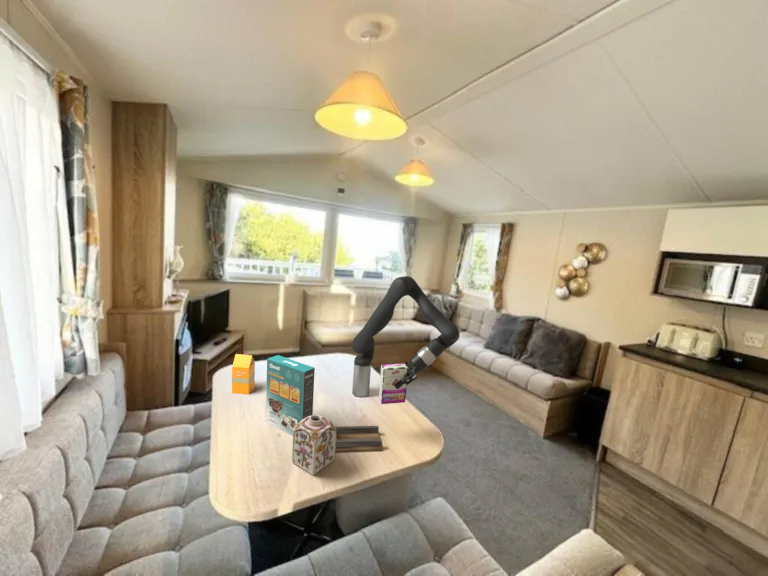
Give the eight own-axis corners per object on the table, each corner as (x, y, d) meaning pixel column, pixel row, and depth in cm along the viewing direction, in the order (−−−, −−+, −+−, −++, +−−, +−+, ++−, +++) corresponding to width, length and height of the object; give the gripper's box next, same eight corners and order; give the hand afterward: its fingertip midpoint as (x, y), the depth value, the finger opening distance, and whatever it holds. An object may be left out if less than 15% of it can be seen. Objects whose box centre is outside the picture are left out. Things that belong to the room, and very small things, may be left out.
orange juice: (248, 394, 175) (249, 357, 172) (231, 393, 175) (231, 356, 172) (254, 387, 183) (255, 352, 180) (238, 386, 183) (238, 351, 180)
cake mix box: (311, 433, 146) (314, 367, 141) (301, 440, 140) (304, 372, 136) (276, 416, 156) (278, 355, 152) (265, 422, 151) (267, 358, 147)
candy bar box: (401, 397, 153) (405, 362, 150) (405, 402, 148) (408, 367, 145) (378, 398, 150) (380, 363, 147) (380, 404, 145) (383, 368, 142)
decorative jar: (291, 462, 127) (292, 418, 124) (313, 447, 136) (315, 406, 133) (313, 477, 120) (316, 430, 117) (335, 460, 130) (338, 417, 127)
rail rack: (331, 432, 148) (332, 424, 147) (377, 430, 151) (377, 423, 151) (332, 452, 134) (332, 444, 134) (381, 450, 138) (382, 442, 137)
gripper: (413, 347, 154) (385, 371, 154) (422, 359, 140) (392, 386, 140) (423, 358, 156) (396, 382, 156) (433, 371, 142) (403, 398, 142)
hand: (394, 384), depth 148 cm, fingers closed on candy bar box, 5 cm apart
